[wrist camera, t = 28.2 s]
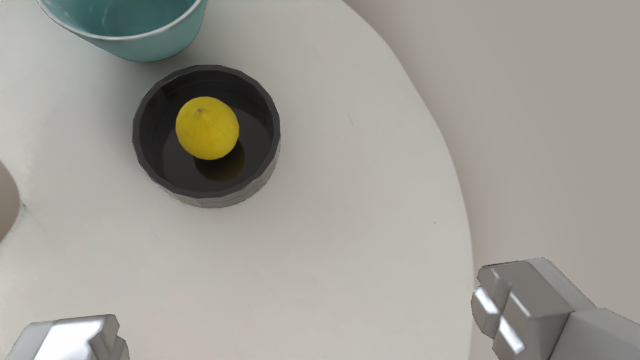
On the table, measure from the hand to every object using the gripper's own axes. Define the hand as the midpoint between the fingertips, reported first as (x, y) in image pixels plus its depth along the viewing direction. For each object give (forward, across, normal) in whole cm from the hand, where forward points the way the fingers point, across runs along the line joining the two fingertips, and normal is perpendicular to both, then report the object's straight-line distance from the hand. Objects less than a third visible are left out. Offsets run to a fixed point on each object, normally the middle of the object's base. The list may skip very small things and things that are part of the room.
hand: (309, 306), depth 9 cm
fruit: (+31, +5, +10) cm, 33 cm away
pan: (+32, +5, +10) cm, 34 cm away
